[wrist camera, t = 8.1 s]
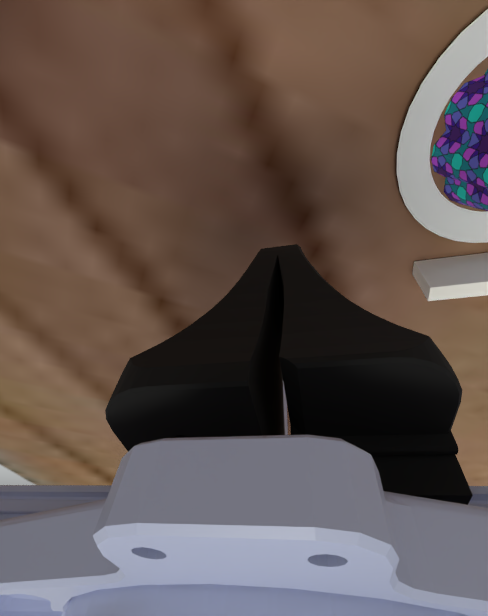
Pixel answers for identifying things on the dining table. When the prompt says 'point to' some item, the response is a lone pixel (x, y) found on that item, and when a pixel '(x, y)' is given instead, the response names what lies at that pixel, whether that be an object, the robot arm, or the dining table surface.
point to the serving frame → (453, 276)
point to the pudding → (450, 142)
